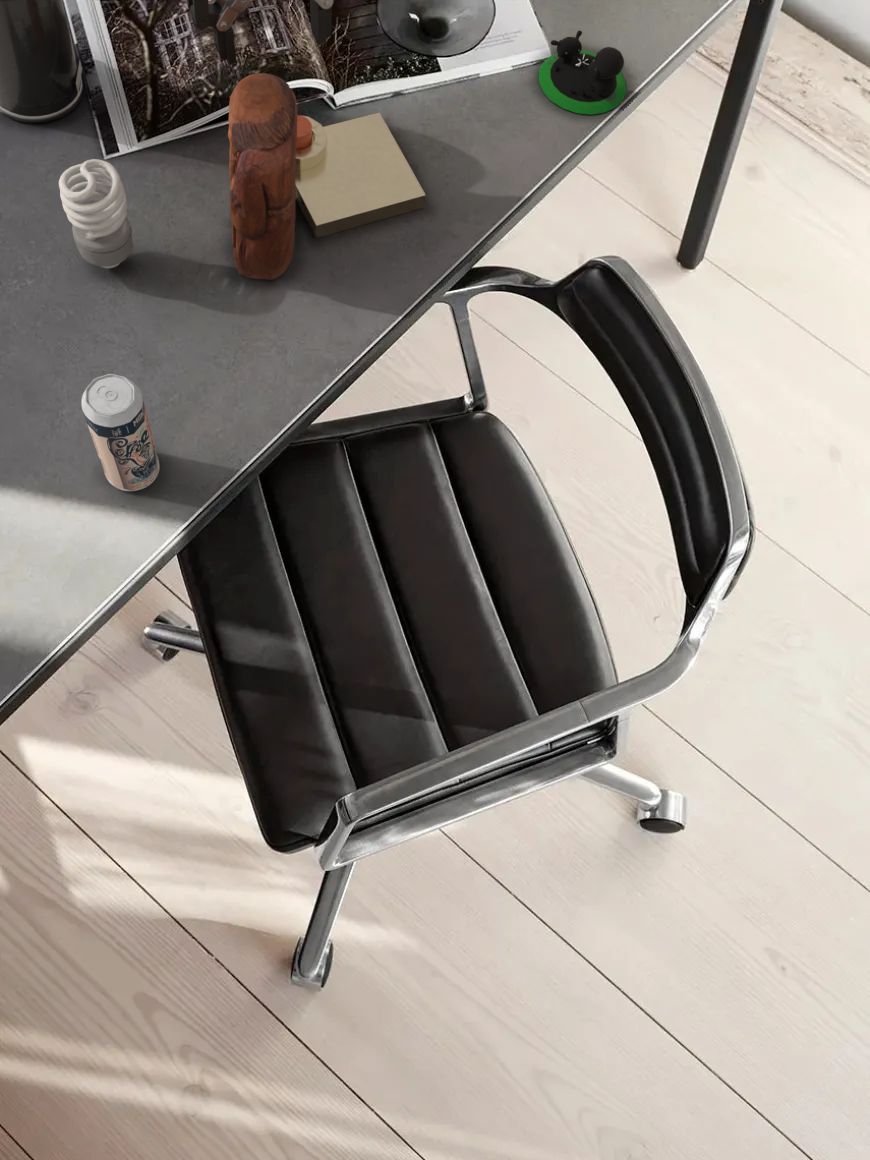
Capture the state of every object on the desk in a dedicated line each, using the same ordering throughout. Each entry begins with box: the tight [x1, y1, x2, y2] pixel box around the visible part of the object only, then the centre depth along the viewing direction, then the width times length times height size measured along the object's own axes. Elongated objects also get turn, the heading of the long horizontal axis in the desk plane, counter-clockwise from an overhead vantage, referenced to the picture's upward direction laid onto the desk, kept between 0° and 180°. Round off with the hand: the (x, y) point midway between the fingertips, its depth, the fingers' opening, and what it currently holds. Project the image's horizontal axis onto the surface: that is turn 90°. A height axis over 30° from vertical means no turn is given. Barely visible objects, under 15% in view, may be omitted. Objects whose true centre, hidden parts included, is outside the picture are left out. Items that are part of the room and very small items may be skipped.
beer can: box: [80, 373, 160, 492], centre depth 95 cm, size 5×5×12 cm
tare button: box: [296, 114, 312, 150], centre depth 113 cm, size 3×3×2 cm
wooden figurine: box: [227, 72, 299, 280], centre depth 104 cm, size 12×6×18 cm, turn 179°
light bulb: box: [58, 158, 134, 269], centre depth 104 cm, size 6×6×12 cm
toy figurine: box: [538, 30, 627, 116], centre depth 123 cm, size 10×10×6 cm
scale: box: [295, 112, 427, 239], centre depth 115 cm, size 13×13×4 cm
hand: (274, 48), depth 102 cm, fingers open, 8 cm apart
